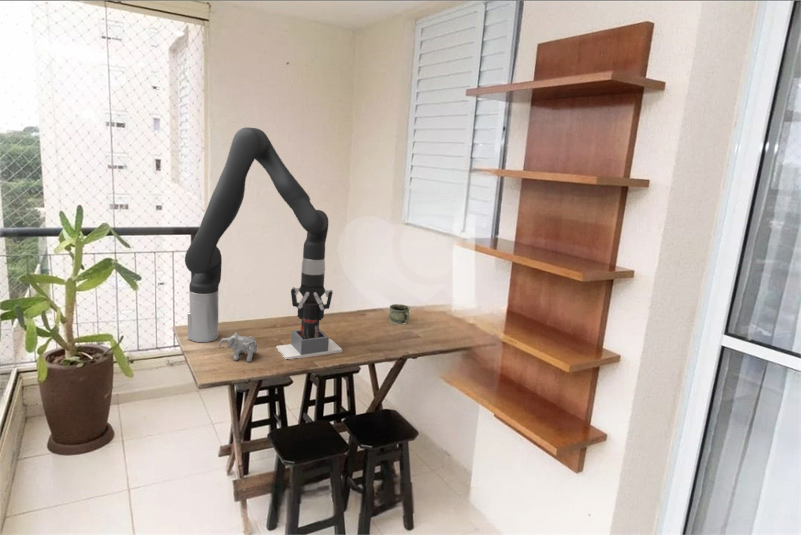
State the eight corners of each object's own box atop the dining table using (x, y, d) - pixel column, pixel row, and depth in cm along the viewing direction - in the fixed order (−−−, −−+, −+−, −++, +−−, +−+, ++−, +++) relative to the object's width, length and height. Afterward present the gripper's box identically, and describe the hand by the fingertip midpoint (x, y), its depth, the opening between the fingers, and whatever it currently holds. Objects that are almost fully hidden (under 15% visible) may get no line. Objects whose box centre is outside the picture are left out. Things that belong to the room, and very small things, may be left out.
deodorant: (314, 348, 169) (316, 306, 165) (297, 345, 170) (299, 303, 167) (320, 342, 175) (322, 301, 171) (304, 339, 176) (306, 298, 172)
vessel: (415, 324, 208) (417, 310, 207) (399, 327, 202) (401, 313, 201) (397, 315, 217) (398, 301, 215) (381, 318, 211) (382, 304, 210)
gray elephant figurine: (258, 363, 161) (260, 340, 159) (218, 364, 156) (219, 340, 154) (255, 351, 169) (256, 330, 167) (217, 352, 164) (218, 330, 163)
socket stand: (285, 360, 164) (286, 343, 162) (276, 348, 172) (276, 332, 170) (342, 352, 174) (343, 335, 172) (330, 341, 182) (331, 325, 181)
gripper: (289, 272, 162) (287, 321, 166) (334, 275, 163) (331, 324, 167) (292, 266, 169) (290, 314, 173) (335, 269, 171) (332, 316, 174)
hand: (310, 318), depth 170 cm, fingers closed on deodorant, 6 cm apart
